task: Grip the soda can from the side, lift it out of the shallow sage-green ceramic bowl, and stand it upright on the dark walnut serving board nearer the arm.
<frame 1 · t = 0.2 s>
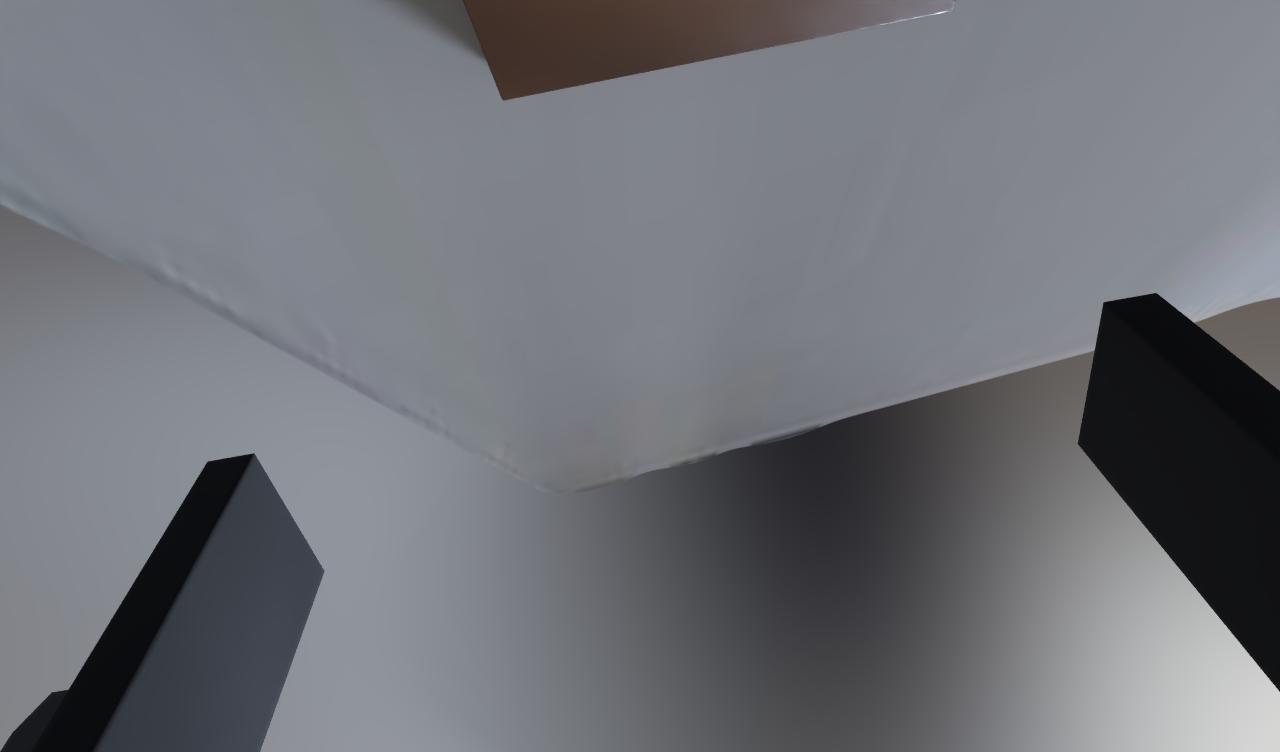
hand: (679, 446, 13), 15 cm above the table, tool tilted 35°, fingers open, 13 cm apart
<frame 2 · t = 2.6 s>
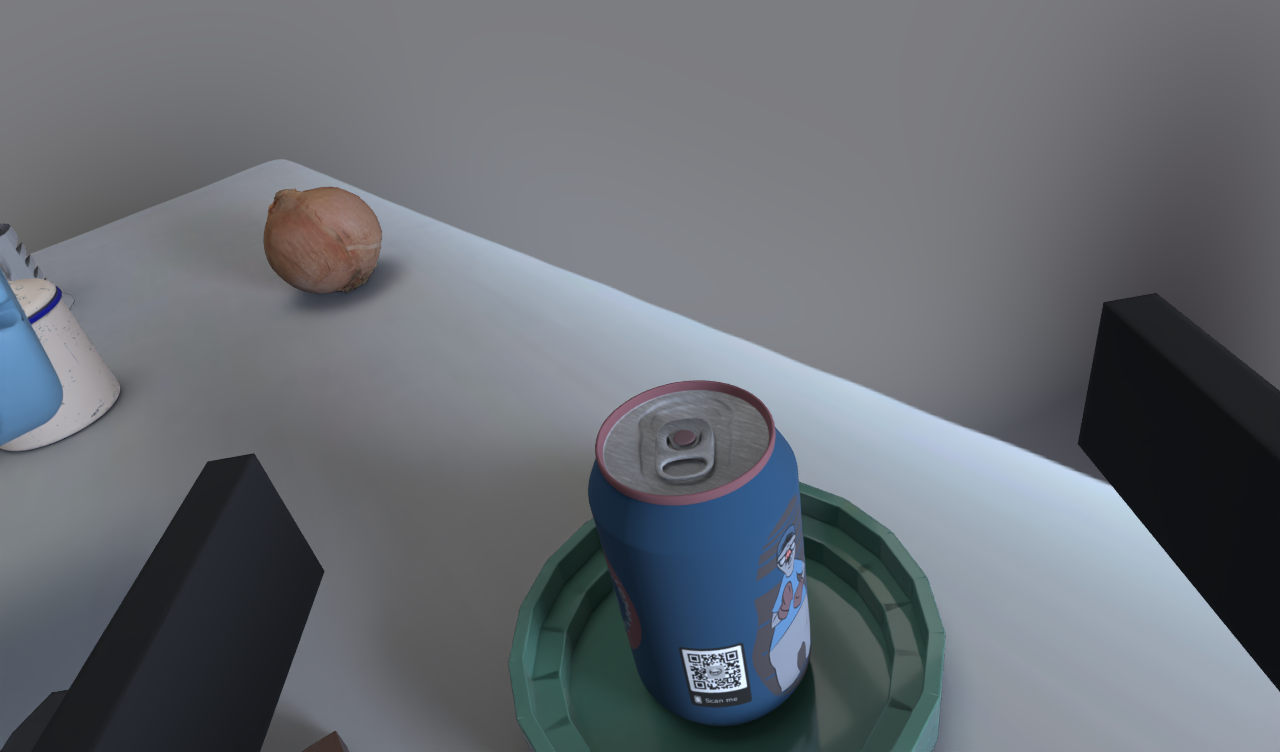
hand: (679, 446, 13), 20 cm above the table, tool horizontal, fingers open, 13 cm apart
teacup with lid: (41, 428, 58), on the table
soda can: (725, 664, 32), resting on bowl
bowl: (725, 666, 32), on the table
onion: (345, 287, 69), on the table
french press: (22, 323, 75), on the table
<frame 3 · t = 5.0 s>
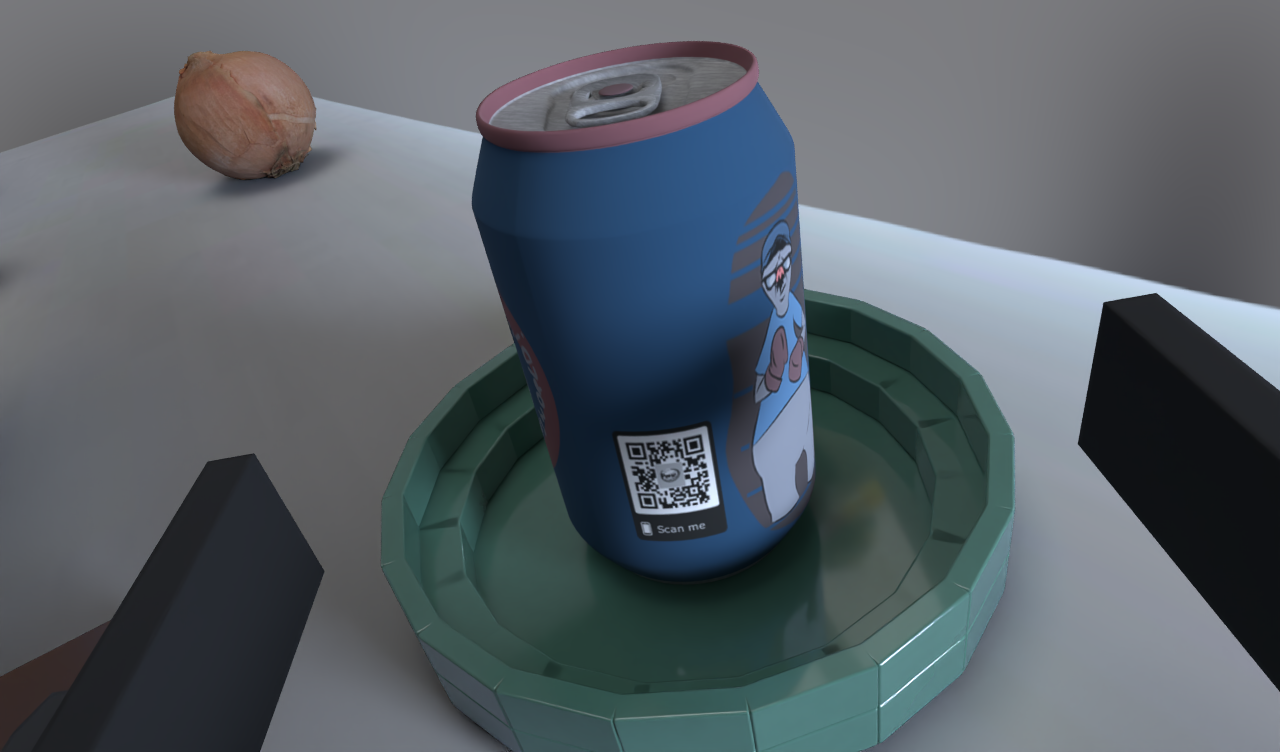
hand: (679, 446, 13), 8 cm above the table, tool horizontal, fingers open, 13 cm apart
soda can: (695, 512, 23), resting on bowl
bowl: (695, 515, 23), on the table
onion: (274, 174, 60), on the table
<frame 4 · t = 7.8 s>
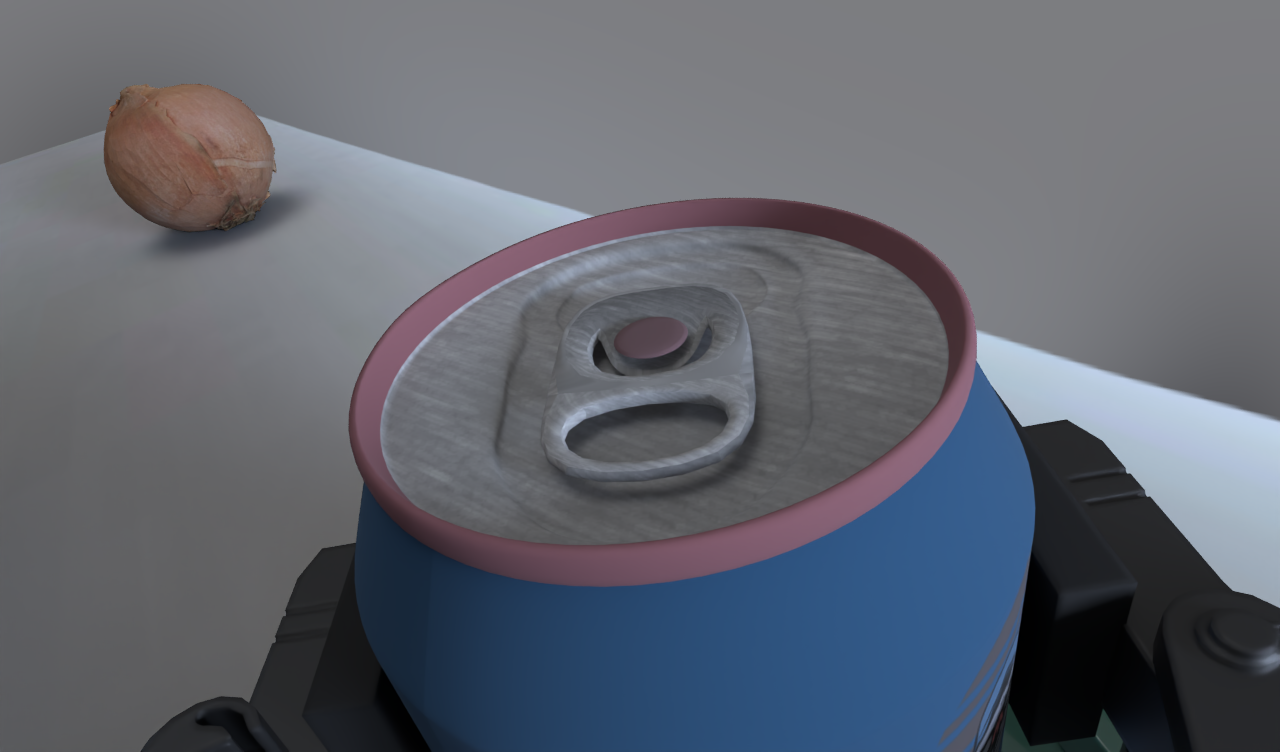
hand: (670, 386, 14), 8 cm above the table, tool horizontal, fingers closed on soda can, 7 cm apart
onion: (227, 225, 51), on the table
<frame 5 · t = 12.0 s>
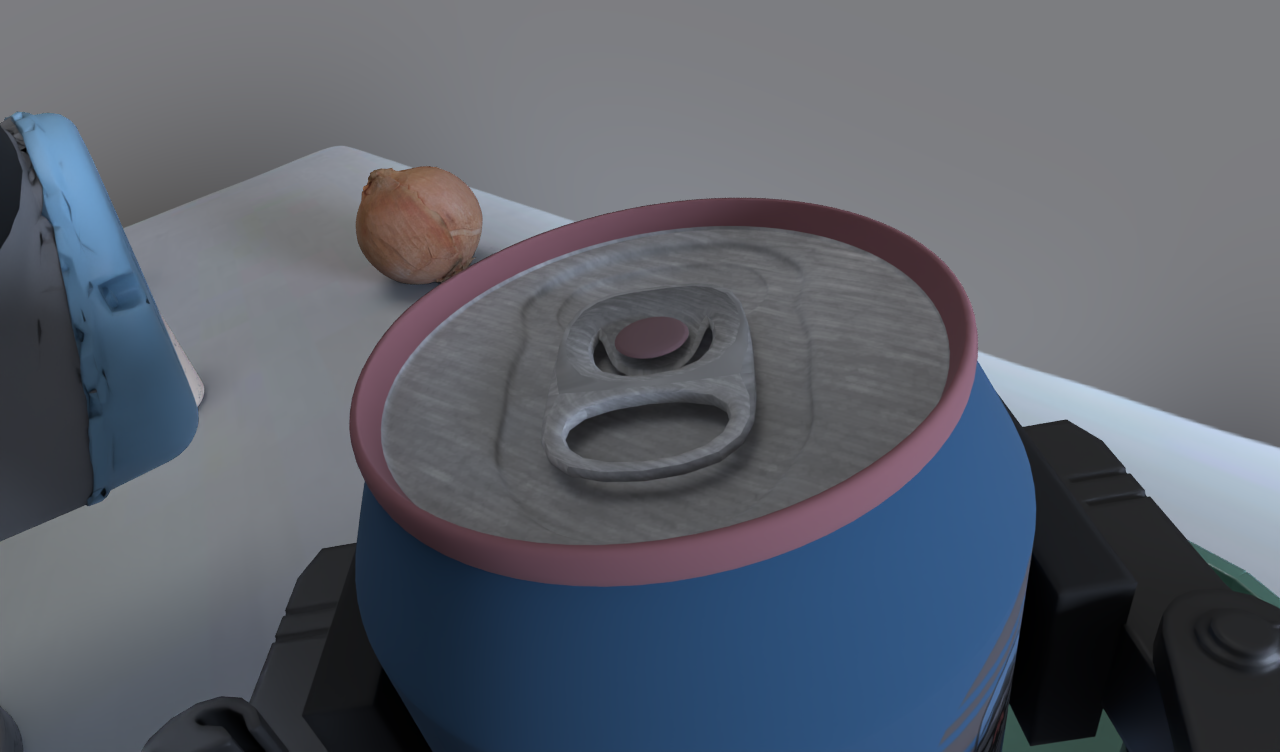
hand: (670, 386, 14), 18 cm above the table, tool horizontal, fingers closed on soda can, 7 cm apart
teacup with lid: (119, 432, 52), on the table
bowl: (1041, 740, 25), on the table
onion: (439, 277, 63), on the table
when the fingers open (9 cm above the table, at t = 16.3 s): soda can stays where it is, resting on board.
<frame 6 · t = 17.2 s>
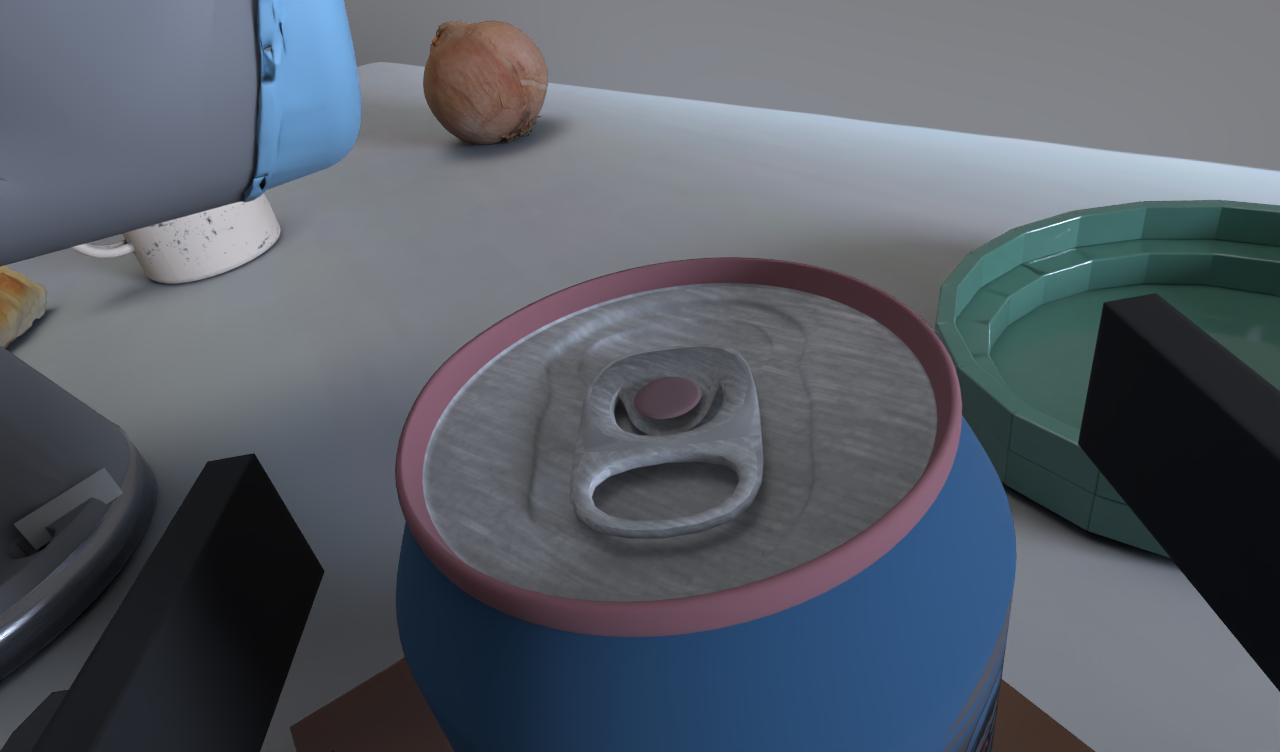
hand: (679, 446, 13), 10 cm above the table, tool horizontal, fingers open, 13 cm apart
teacup with lid: (197, 266, 52), on the table
bowl: (1200, 390, 26), on the table
onion: (503, 140, 63), on the table
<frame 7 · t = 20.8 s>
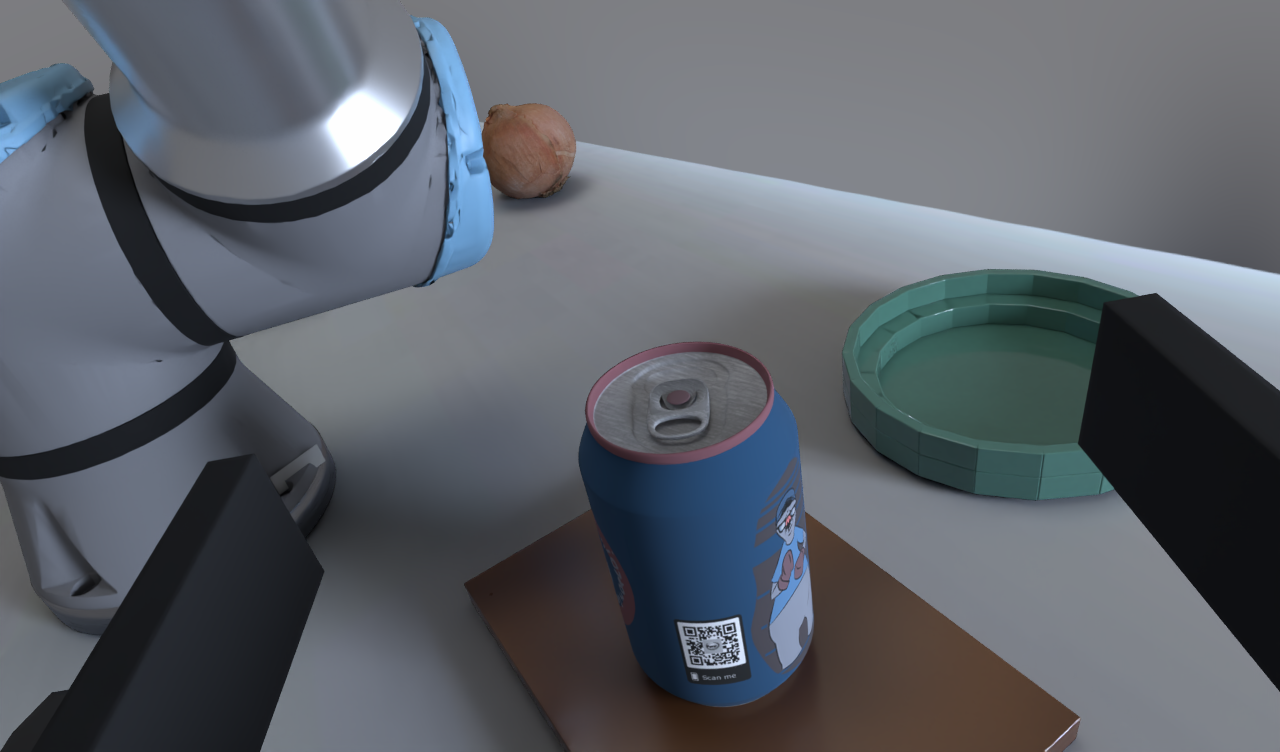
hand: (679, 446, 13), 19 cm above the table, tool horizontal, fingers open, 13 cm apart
board: (726, 658, 31), on the table
soda can: (724, 644, 31), point 1 cm above the table, touching board
bowl: (1005, 394, 41), on the table
onion: (539, 195, 79), on the table
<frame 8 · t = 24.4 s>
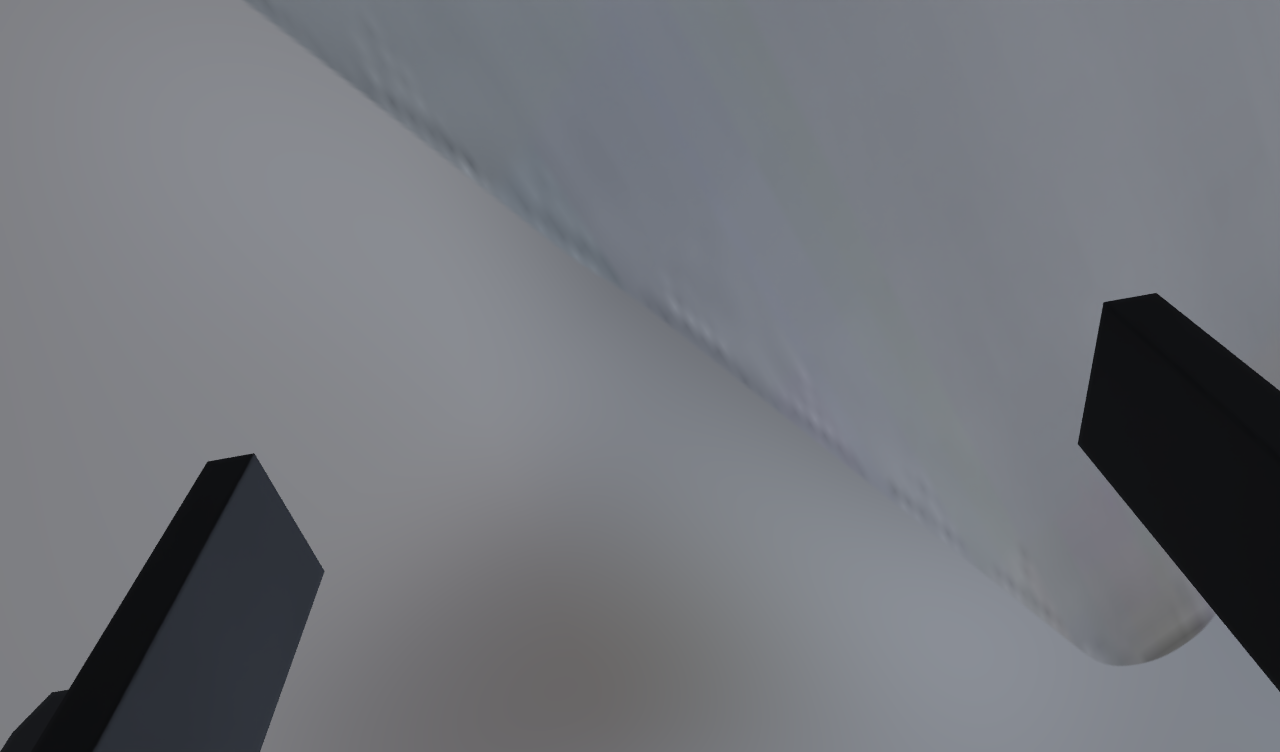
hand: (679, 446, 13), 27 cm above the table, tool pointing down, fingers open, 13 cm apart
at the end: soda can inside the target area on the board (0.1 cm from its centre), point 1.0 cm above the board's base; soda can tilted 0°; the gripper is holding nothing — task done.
